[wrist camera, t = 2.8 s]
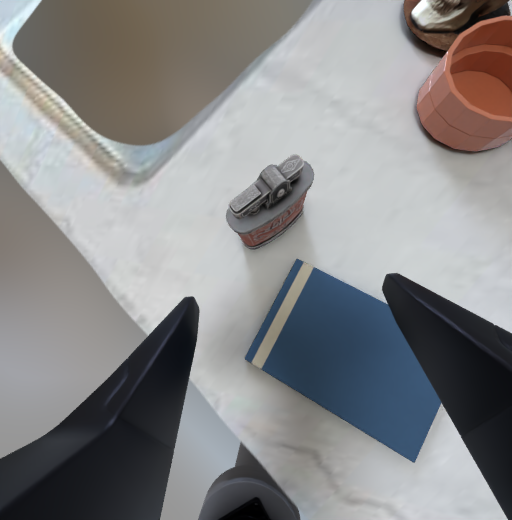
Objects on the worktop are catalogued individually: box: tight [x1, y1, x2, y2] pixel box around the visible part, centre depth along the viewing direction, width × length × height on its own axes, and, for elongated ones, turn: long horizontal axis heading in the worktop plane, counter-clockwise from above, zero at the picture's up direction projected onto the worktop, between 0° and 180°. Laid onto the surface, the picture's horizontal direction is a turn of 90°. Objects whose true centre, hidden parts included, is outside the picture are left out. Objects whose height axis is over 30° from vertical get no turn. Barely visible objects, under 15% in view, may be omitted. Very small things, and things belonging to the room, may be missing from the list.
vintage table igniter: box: [226, 154, 314, 249], centre depth 19 cm, size 8×3×10 cm, turn 127°
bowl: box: [417, 16, 512, 152], centre depth 21 cm, size 11×11×4 cm
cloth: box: [245, 259, 441, 463], centre depth 21 cm, size 12×18×1 cm, turn 62°
